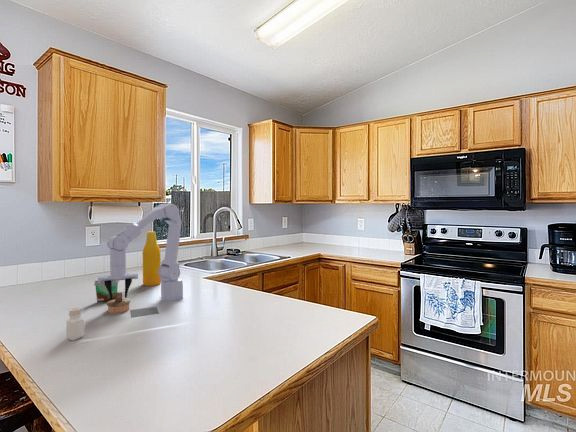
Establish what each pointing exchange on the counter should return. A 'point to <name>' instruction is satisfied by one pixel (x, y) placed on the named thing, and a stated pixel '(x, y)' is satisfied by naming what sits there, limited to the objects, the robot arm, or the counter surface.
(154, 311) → the mat
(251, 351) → the counter surface
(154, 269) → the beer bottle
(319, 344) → the counter surface
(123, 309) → the bowl
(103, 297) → the food container
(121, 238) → the robot arm
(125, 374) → the counter surface
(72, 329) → the salt shaker
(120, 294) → the lid
